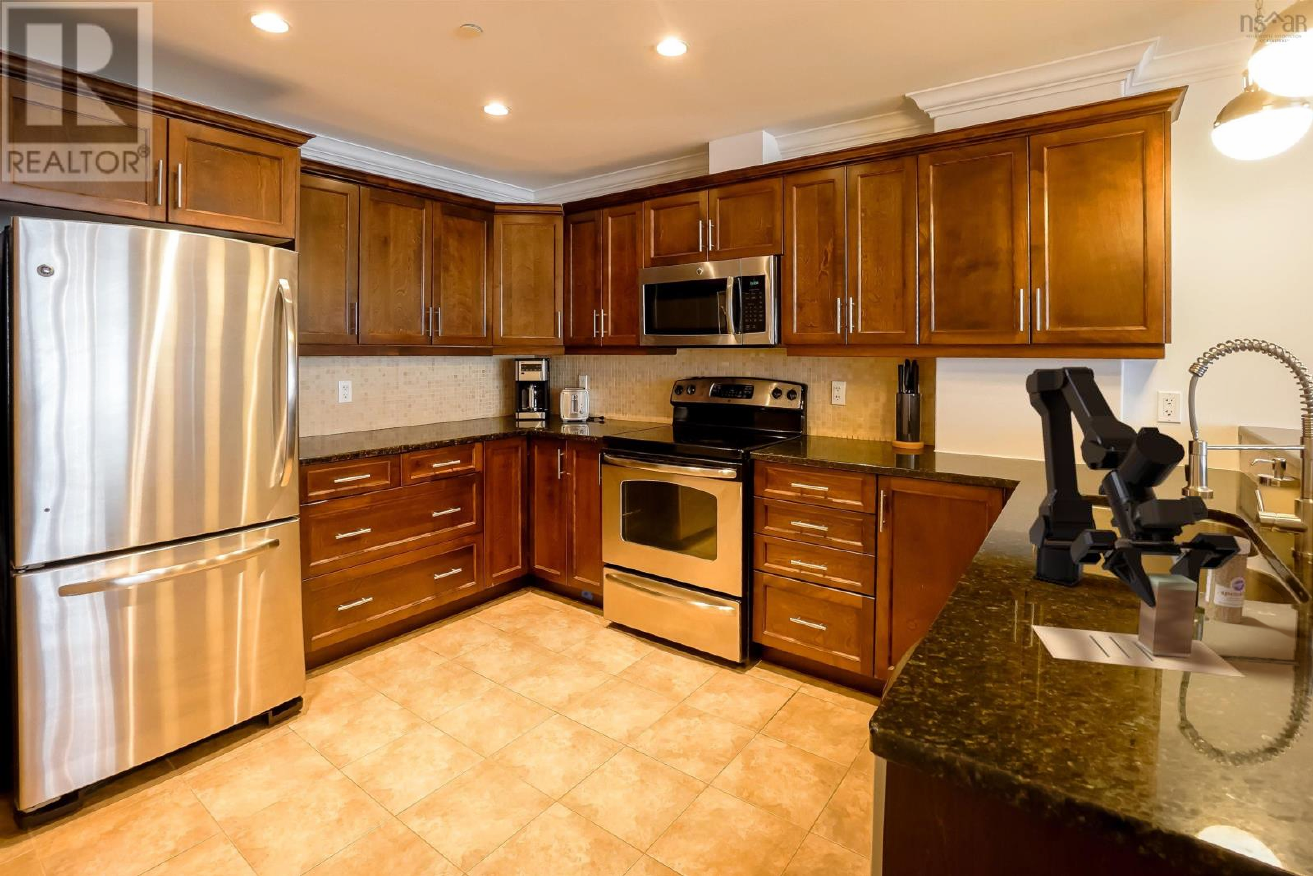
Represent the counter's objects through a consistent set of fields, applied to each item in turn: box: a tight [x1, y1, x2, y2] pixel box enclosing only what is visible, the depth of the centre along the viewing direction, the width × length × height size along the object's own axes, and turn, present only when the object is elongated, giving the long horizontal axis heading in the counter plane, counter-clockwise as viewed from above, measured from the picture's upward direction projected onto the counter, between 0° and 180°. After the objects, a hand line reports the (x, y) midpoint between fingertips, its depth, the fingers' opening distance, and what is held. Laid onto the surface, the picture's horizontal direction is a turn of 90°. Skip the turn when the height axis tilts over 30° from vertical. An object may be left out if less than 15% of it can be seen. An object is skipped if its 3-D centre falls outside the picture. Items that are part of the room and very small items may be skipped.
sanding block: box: [1137, 572, 1197, 657], centre depth 87 cm, size 4×4×10 cm
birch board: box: [1031, 624, 1247, 678], centre depth 89 cm, size 21×11×1 cm, turn 74°
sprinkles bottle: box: [1204, 535, 1251, 625], centre depth 99 cm, size 5×5×13 cm
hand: (1173, 606), depth 86 cm, fingers closed on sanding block, 4 cm apart
